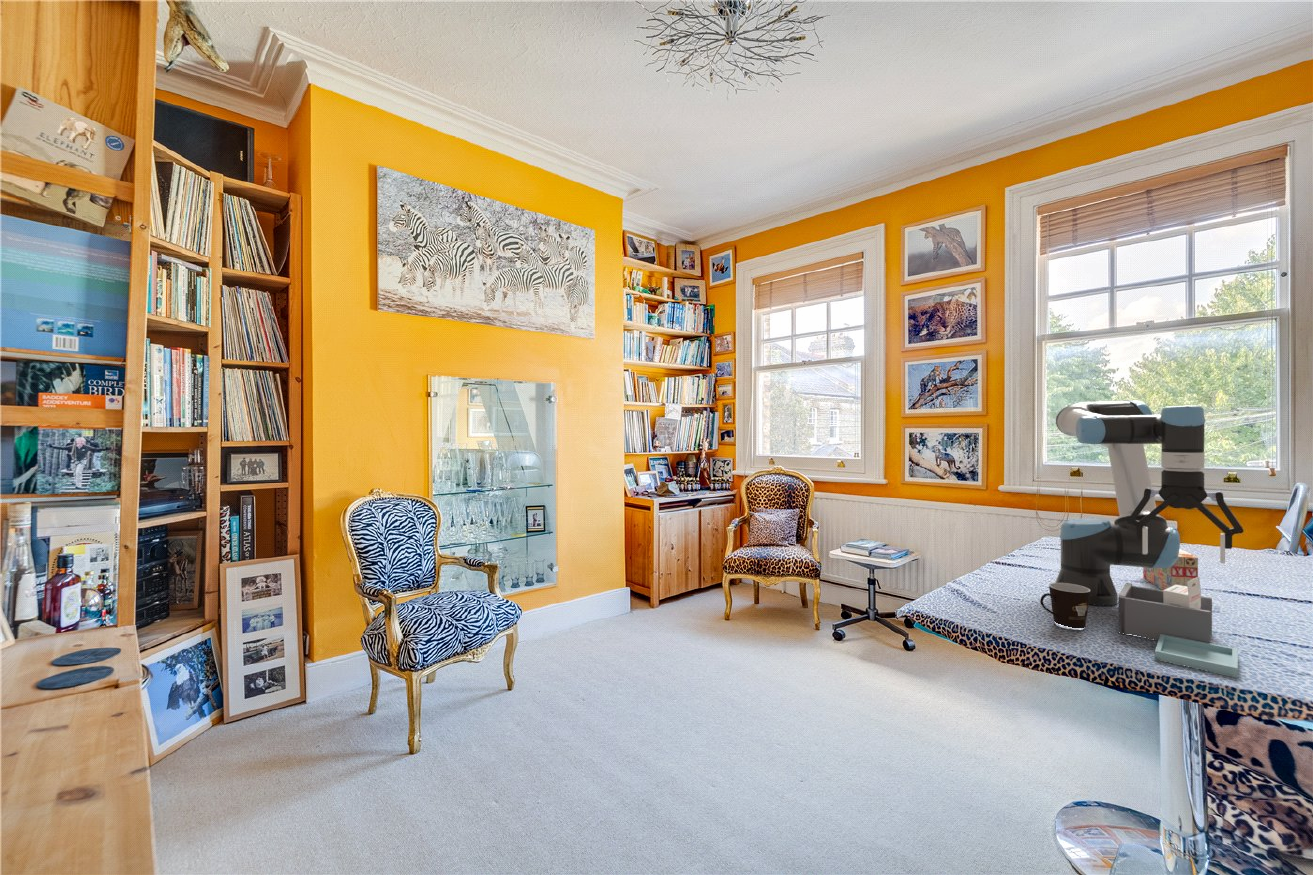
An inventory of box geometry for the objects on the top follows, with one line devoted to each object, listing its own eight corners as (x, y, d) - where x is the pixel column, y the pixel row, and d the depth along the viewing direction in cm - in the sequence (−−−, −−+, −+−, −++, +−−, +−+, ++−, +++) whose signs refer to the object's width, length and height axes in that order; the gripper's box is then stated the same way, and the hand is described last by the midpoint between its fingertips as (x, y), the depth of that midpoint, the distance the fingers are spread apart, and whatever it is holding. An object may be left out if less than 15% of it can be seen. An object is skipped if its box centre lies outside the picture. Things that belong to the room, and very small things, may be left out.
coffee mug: (1082, 622, 146) (1082, 584, 146) (1096, 633, 138) (1096, 593, 138) (1031, 617, 150) (1030, 580, 149) (1041, 629, 142) (1041, 590, 141)
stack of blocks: (1142, 577, 185) (1142, 540, 185) (1166, 579, 183) (1166, 542, 182) (1170, 596, 166) (1170, 555, 165) (1198, 598, 163) (1198, 556, 163)
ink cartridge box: (1174, 630, 139) (1174, 571, 139) (1201, 636, 135) (1201, 576, 135) (1162, 637, 135) (1162, 577, 134) (1189, 644, 130) (1189, 582, 130)
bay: (1118, 633, 138) (1118, 594, 138) (1126, 618, 148) (1126, 582, 148) (1210, 651, 126) (1210, 609, 126) (1211, 634, 136) (1212, 595, 136)
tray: (1154, 659, 122) (1154, 650, 122) (1160, 642, 132) (1160, 634, 132) (1237, 678, 113) (1237, 668, 113) (1237, 657, 123) (1237, 648, 123)
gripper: (1113, 468, 140) (1113, 552, 141) (1259, 473, 122) (1259, 569, 123) (1117, 466, 145) (1118, 547, 146) (1258, 471, 127) (1258, 563, 128)
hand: (1182, 557), depth 134 cm, fingers open, 13 cm apart
